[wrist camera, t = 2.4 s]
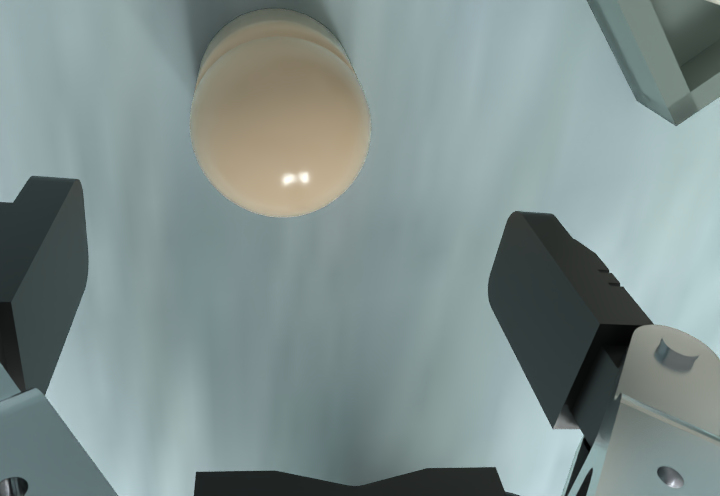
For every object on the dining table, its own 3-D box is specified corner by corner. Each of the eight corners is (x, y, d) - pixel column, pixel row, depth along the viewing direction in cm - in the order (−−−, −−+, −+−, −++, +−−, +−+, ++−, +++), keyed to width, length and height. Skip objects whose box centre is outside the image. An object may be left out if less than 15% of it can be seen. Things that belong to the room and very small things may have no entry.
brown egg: (382, 97, 21) (424, 174, 16) (270, 186, 22) (276, 282, 17) (285, -28, 19) (298, 16, 14) (164, 78, 20) (135, 155, 15)
